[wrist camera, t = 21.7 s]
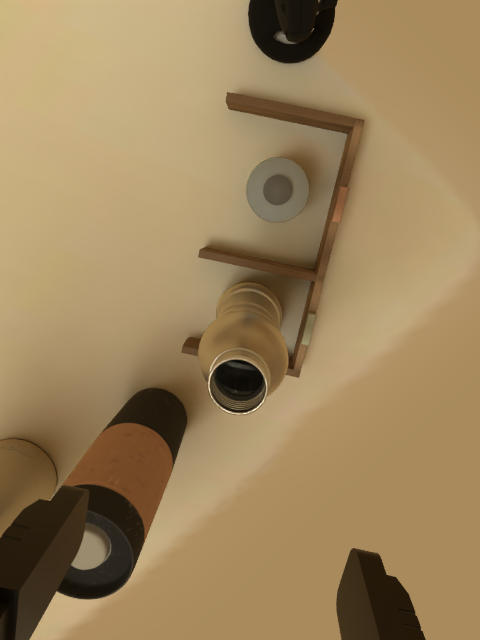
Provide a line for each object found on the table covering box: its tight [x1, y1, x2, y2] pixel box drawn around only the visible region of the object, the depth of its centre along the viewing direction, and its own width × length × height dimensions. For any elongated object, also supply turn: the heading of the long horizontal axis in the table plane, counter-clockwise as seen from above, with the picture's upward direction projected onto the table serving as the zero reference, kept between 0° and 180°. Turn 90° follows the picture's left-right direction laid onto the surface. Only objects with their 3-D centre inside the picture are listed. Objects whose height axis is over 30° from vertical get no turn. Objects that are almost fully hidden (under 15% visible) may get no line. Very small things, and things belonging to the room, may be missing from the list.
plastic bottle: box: [198, 282, 288, 415], centre depth 34 cm, size 6×7×20 cm
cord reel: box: [246, 157, 309, 222], centre depth 38 cm, size 5×5×7 cm
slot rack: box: [182, 92, 364, 377], centre depth 40 cm, size 24×12×4 cm, turn 169°
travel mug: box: [57, 388, 187, 599], centre depth 38 cm, size 8×8×20 cm
